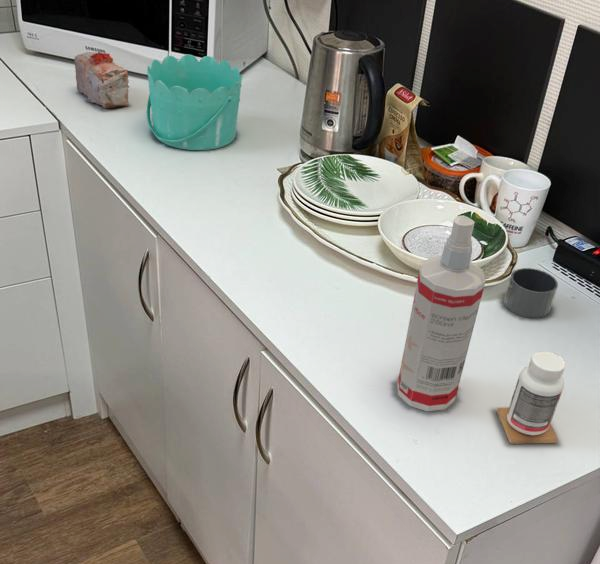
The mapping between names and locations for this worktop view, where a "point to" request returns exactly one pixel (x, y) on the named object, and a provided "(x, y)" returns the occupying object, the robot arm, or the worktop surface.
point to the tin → (530, 292)
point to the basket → (193, 102)
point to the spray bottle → (441, 323)
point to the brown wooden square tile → (519, 437)
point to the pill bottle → (537, 394)
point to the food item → (101, 79)
